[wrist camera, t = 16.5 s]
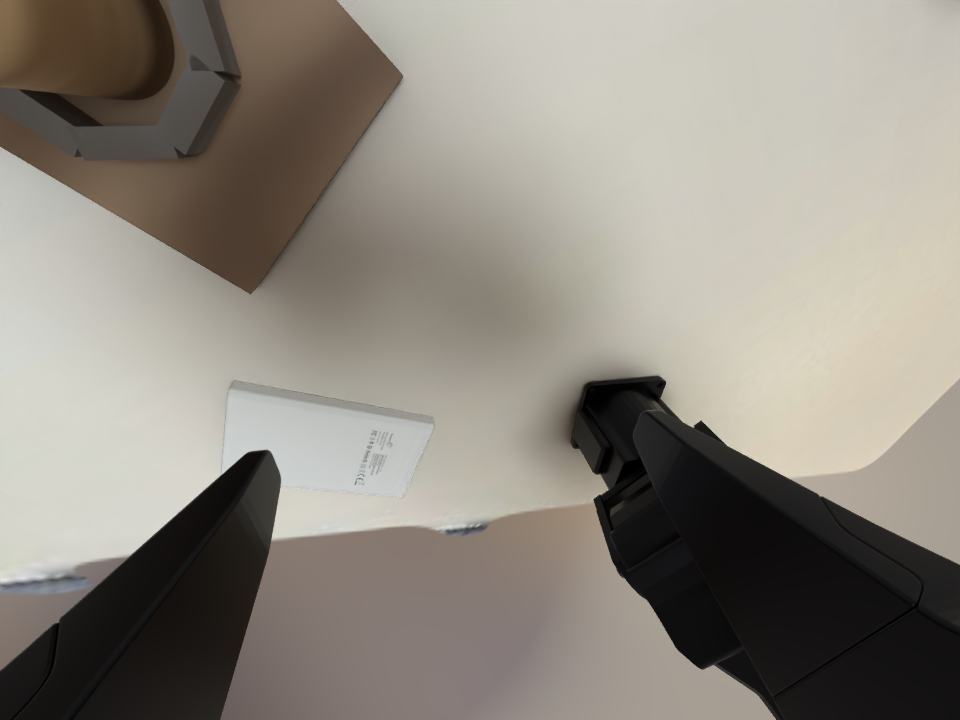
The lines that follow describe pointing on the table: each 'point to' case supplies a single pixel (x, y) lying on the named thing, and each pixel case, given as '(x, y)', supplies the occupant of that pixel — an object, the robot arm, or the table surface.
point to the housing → (218, 129)
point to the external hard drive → (325, 440)
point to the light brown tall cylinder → (86, 47)
